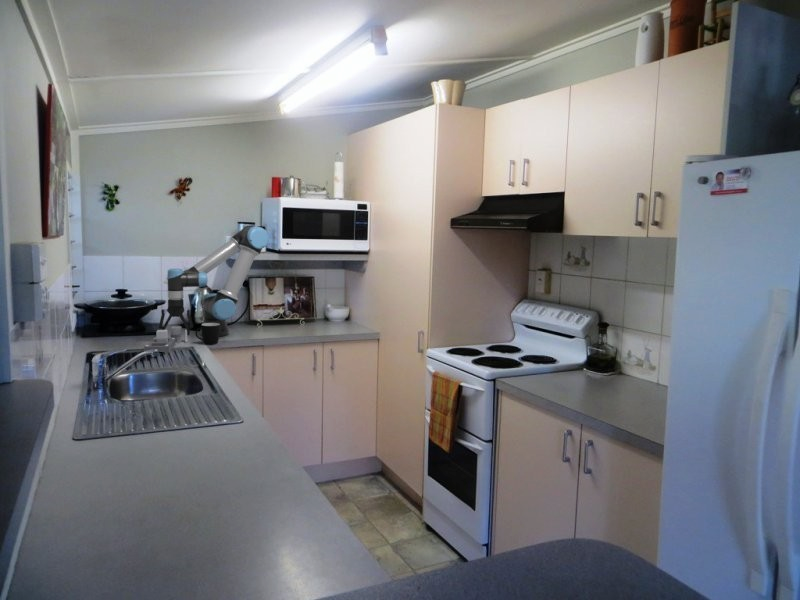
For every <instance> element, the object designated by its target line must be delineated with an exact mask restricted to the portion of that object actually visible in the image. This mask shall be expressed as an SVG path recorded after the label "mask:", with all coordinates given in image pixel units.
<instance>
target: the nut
mask: <svg viewBox="0 0 800 600" xmlns="http://www.w3.org/2000/svg"><path fill="white" fill-rule="evenodd" d="M172 338H174V339H176V344H181V343H182V342H183V330H182V326H181V325H180V326H178V325H177V326H176V325H175V326H174V325H173V326H171V327H170V339H172Z"/></svg>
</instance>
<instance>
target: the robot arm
mask: <svg viewBox="0 0 800 600" xmlns="http://www.w3.org/2000/svg"><path fill="white" fill-rule="evenodd" d="M269 239H270V238H269V233H268V232H267V230H266V229H265V228H263V227H262V226H261V227H260V226H256V225H255V226H250V225H249V226H246V227H245V226H244V227H243V228H242V229H240V230H239V231H237V232H236V233H235V234H234V235H233V236H231V237H230V239H229V241H227V242H226V243H224V244H223V245H221V246H220V247H218V248H216V250H214V251H213V252H211V253H210V254H208V255H206V257H204V258H203V259H201V260H199V261H198V262H197V263H196V264H194V265H193V266H191V267H190V268H188V269H185V270H183V269H182V268H169V269H168V270H167V277H166V278H167V309H165V308H163V309H161V315H160V320H159V324H158V330H168V328H167V327H168V325H169V323H170V322H171V319H172V318H180V320H181V322H182V323H183V325H184V326H185V329H184V331H185V332H184V333H185V336H184V337H185V343H188V341H189V336H190V334H191V333H190V332H191V329H193V328H194V323H193V320H192V317H191V309H189V308H188V309H187V308H185V307H184V303H185V302H184V288H193V287H194V288H196V287H199V288H201V287H207V285H208V282H209V281H208V274H209V273H210V272H211V271H213V270H214V269H216V268H218V266H220V265H221V264H222V263H225V261H227V260H229V258H231V257H233V256H234V255H236V254H237V256H236V258H235V261H234V262H233V265H232V267H231V270H230V271H229V273H228V274H227V275H228V276H227V278H226V279H225V282H224V284H223V286H222V288H221V289H220V290H217V292H216V293H205V294H204V295H203V298H202V301H203V322H202V324H204V323H218V324H220V332H219V337H225V336H228V335H230V330H229V327H228V324H227V321H229V320H231V319H232V318H233V317H234V316H235V314H236V311H237V304H238V301H239V299H238V295H239V292H240V291H241V287H242V286H243V285H244V284H243V283H244V282H245V280H246V277H247V276H248V273H249V271H250V269H251V267H252V264H253V262H254V261H255V258H256V257H257V256H259V255H260V254H261V252H262V251H263V248H265V247H266V246H267V245H268V244H269V242H270V241H269ZM238 252H239V253H238ZM184 312H185V314H186V317H187V320H188V322H187V320H186V318H185V317H184V315H183V313H184ZM167 313H168V314H169V315H168V317H167V319H166V321H165V323H164V320H165V317H166V314H167ZM163 323H164V324H163ZM200 335H201V336H202V330H201V329H200Z"/></svg>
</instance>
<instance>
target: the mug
mask: <svg viewBox="0 0 800 600" xmlns="http://www.w3.org/2000/svg"><path fill="white" fill-rule="evenodd" d="M199 330H200V331H201V330H202V335H201V336H202V337H199V336H198V332H199ZM219 332H220V324H218V323H204V324H203V323H202V324H201V326H200V327H198V328H197V329H196V331H195V337H196V338H197V339H199V340H201V341H202V342H203V344H204V345H207V346H208V345H209V346H211V345H213V346H214V345H217V344H218V343H219V338H220V336H219Z"/></svg>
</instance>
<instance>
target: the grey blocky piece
mask: <svg viewBox="0 0 800 600" xmlns="http://www.w3.org/2000/svg"><path fill="white" fill-rule="evenodd" d="M155 334H156V336H155V337H154V338H152V339H151V340H150V341H148V343H146V344H145V345H144V347H143V351H144V350H149V349H158V350H160V352H166V353H165V354H167V353H168V354H170V352H171V351H172V350H173V348H174V347H176V345H177V343H176V339H174V338H172V339H171V338H169V331H168V329H167V330H162V329H157V330H156V333H155ZM171 349H172V350H171ZM170 350H171V351H170Z"/></svg>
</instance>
